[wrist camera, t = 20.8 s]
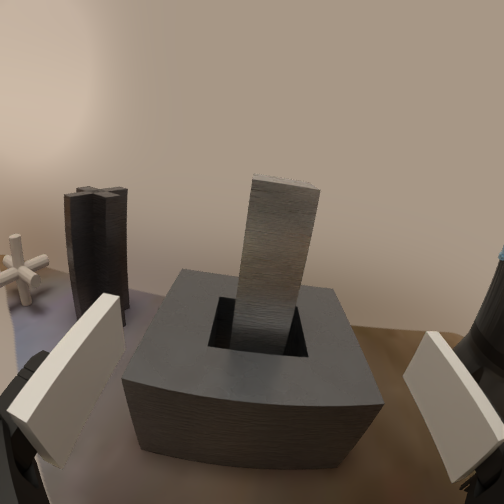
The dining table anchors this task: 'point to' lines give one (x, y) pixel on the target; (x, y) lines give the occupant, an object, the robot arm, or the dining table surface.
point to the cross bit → (97, 245)
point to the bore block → (249, 382)
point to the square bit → (272, 262)
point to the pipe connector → (22, 270)
